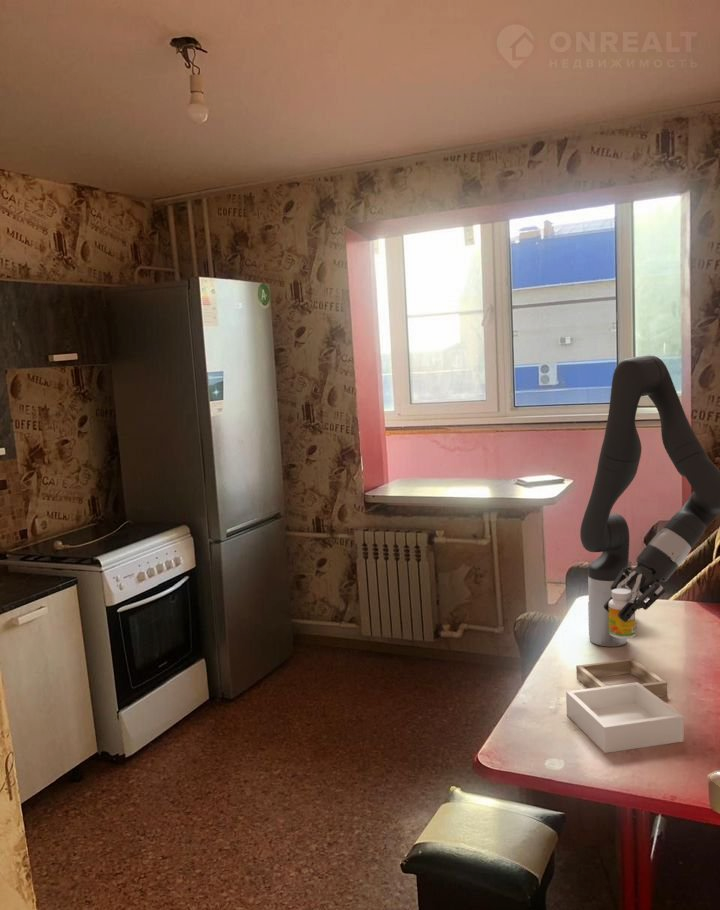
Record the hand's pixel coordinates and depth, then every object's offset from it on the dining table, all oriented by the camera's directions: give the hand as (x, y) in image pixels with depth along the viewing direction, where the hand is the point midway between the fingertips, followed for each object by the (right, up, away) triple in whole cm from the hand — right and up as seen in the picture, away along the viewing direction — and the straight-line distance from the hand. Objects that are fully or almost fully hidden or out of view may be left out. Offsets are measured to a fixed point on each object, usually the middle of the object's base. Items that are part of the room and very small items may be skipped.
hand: (614, 614), depth 158 cm
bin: (-2, -20, -12) cm, 23 cm away
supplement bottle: (+2, -5, +1) cm, 5 cm away
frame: (+4, -17, +6) cm, 19 cm away
